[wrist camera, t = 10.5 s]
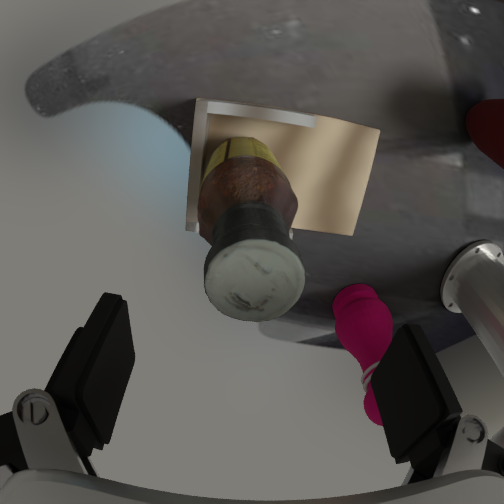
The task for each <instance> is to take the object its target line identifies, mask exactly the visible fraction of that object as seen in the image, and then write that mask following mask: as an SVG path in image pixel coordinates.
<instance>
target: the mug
mask: <svg viewBox="0 0 504 504" xmlns="http://www.w3.org/2000/svg"><path fill="white" fill-rule="evenodd" d="M465 125H466V129H467V132H468V134H469V135H470V137H471V139H472V141H473V142H474V144H475V145H476V146H477V147H478V149H479V150H481V151H482V152H483V153H484V154H485V155H487V156H488V157H489V158H491V159H492V160H493V161H494V162H496V163H497V164H498V165H499V166H500V167H502V168H503V169H504V99H489V100H484V101H481V102H479V103H478V104H476V105H475V106H473V107H472V108H471V109H470V110H469V111H468V112H467V115H466V119H465Z"/></svg>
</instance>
